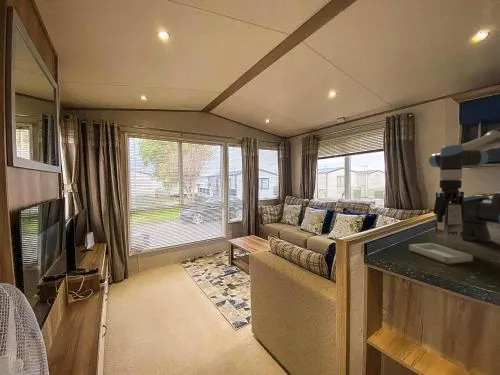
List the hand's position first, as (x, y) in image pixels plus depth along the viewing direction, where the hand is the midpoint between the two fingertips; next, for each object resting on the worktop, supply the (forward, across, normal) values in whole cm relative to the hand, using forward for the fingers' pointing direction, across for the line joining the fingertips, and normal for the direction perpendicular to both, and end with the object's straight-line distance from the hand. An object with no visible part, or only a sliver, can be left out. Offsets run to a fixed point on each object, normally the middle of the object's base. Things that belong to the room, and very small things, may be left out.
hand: (448, 228), depth 104 cm
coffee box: (+5, 0, 0) cm, 5 cm away
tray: (+9, +15, +7) cm, 19 cm away
